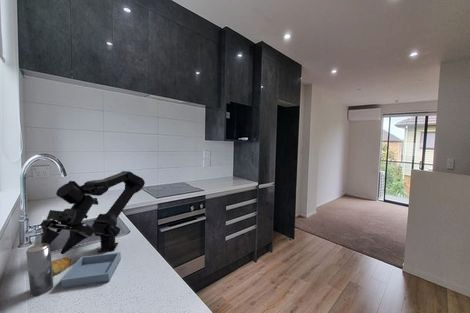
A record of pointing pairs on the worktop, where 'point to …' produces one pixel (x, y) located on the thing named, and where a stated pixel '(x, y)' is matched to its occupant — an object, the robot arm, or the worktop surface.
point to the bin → (91, 270)
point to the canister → (39, 269)
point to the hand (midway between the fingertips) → (51, 252)
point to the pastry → (60, 265)
